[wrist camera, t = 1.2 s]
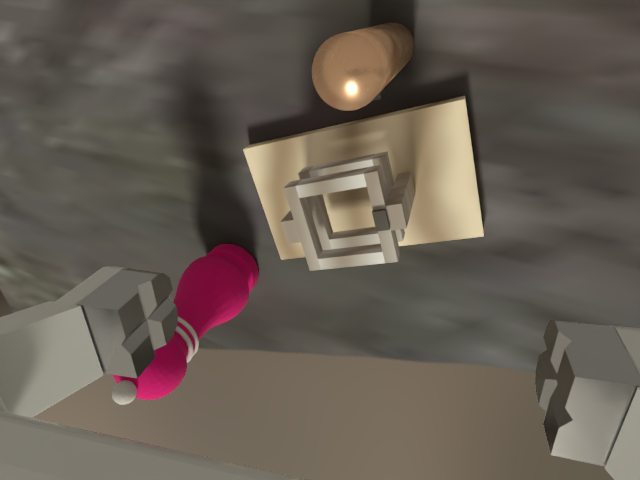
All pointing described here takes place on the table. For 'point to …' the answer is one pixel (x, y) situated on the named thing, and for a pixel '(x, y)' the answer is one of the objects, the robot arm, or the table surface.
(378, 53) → the brown rounded cylinder
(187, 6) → the table surface
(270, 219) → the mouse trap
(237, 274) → the pepper mill
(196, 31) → the table surface
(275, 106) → the table surface
